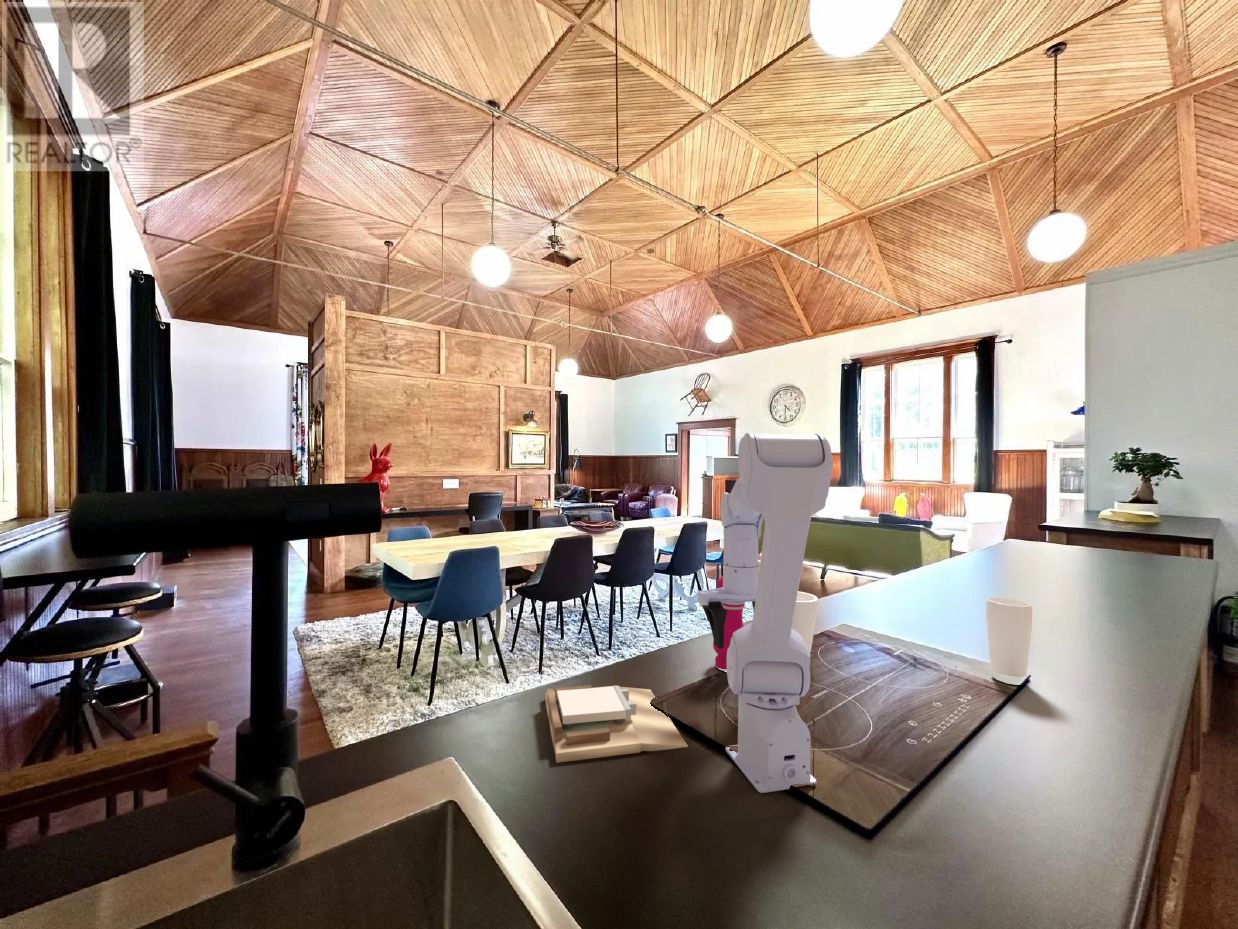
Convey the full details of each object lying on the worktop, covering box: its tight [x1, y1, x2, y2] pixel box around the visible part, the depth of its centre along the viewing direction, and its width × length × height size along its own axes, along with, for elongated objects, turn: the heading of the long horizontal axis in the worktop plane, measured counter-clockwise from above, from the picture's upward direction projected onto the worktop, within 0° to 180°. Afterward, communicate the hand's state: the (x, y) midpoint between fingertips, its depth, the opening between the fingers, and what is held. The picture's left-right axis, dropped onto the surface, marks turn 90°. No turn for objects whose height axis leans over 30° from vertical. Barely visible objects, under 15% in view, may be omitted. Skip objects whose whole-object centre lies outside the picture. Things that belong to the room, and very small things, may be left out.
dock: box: [544, 684, 689, 764], centre depth 75 cm, size 18×18×4 cm
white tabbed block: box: [556, 685, 636, 729], centre depth 74 cm, size 8×11×2 cm
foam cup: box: [792, 590, 819, 655], centre depth 101 cm, size 10×9×13 cm
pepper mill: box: [712, 575, 746, 669], centre depth 96 cm, size 7×7×20 cm
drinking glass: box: [985, 596, 1033, 677], centre depth 92 cm, size 7×7×15 cm
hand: (739, 645), depth 82 cm, fingers open, 7 cm apart
